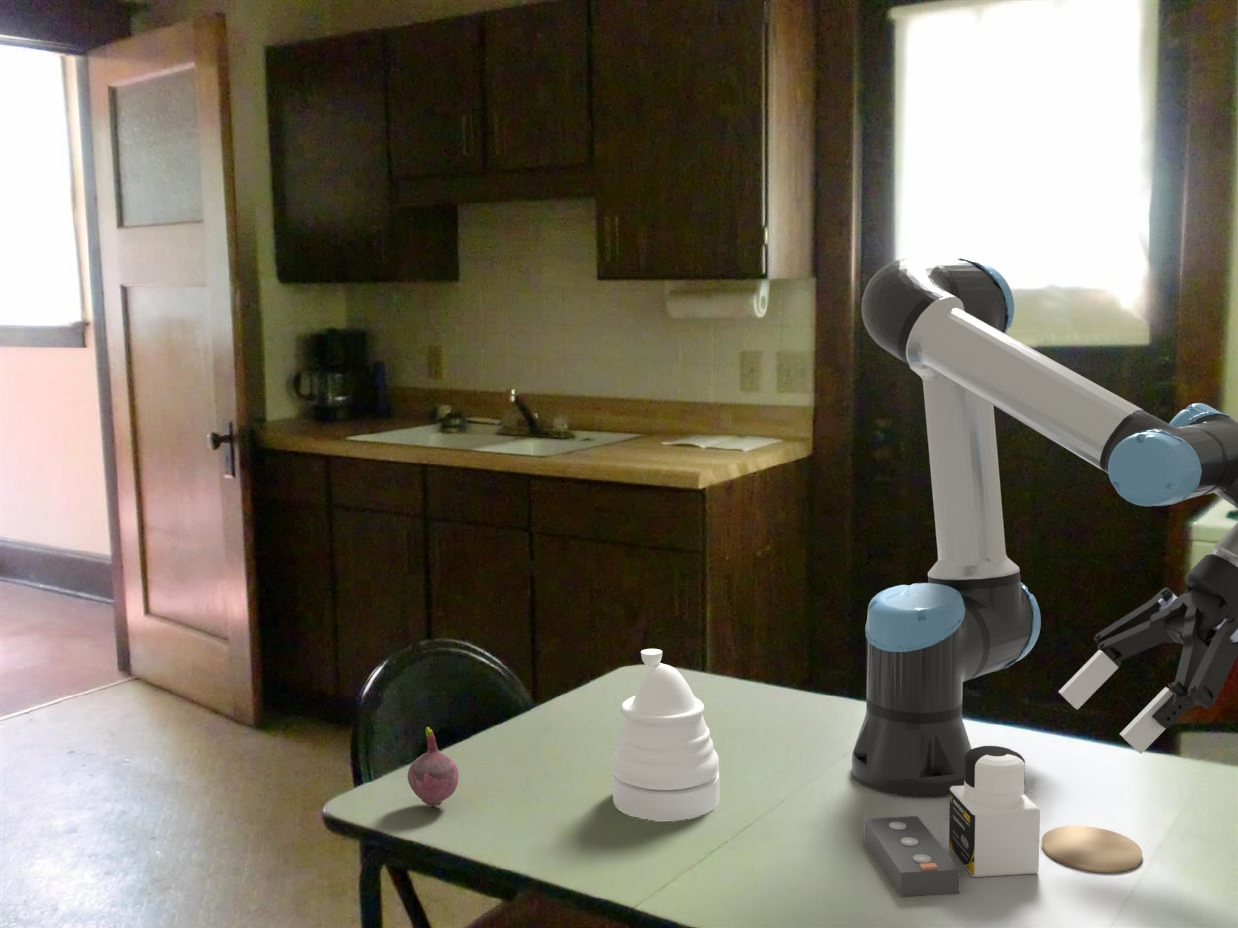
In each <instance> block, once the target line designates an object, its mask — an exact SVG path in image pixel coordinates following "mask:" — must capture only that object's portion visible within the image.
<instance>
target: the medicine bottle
mask: <svg viewBox="0 0 1238 928" xmlns="http://www.w3.org/2000/svg"><path fill="white" fill-rule="evenodd" d="M1025 771H1026V760H1025V758H1024V757H1023V756H1022V755H1021V754H1020V753H1019V752H1017V751H1015V750H1012V749H1010V748H1008V747H1004V746H998V745H982V746H977V747H974V748H972V749H971V750H969V751H968V752H967V753H966V754H965V767H964V786H952V787H950V796H949V814H948V816H949V818H948V820H949V821H948V822H949V823H948V824H949V825H948V848H949V849H950V851H951V852H952V853H953V854H954V856H955V857H956V858H957V859H958V860H959V862H960V863H961V864H962V865H963V867H964V868H965V870H967V871H968V873H969V874H970V875H971V876H972V877H973V878H983V877H999V876H1016V875H1017V876H1019V875H1020V876H1021V875H1033V874H1035V875H1036V874H1038V873H1039V869H1040V868H1039V867H1040V835H1041V834H1040V832H1041V831H1040V828H1041V827H1040V826H1041V809H1040V808H1039V806H1037V805H1036V804H1035V803H1034V802H1033V801H1031V799H1030V798H1029V797H1027V795H1025V784H1026V783H1025V782H1026V781H1025V777H1026V772H1025Z"/></svg>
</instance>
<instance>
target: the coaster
mask: <svg viewBox="0 0 1238 928" xmlns="http://www.w3.org/2000/svg"><path fill="white" fill-rule="evenodd" d="M1041 848H1042V850H1043V852H1044V853H1045V854H1046V855H1047V856H1048V857H1049V858H1051V859H1052V860H1055V861H1056V862H1058V863H1060V864H1063V865H1065V866H1068V867H1071V868H1075V869H1077V870H1078V869H1079V870H1084V871H1087V872H1094V873H1119V872H1125V871H1130V870H1132V869H1135V868H1137V867H1139V865H1140V864H1141V862H1142V860H1143V859H1142V858H1143V851H1142V848H1141V847H1140V845H1139V844H1138V843H1137V842H1135V840H1133V839H1131V838H1129V837H1128V836H1126V835H1123V834H1122V833H1118V832H1115V831H1112V830H1108V829H1105V828H1101V827H1096V826H1095V827H1093V826H1087V825H1082V826H1081V825H1070V826H1069V825H1068V826H1060V827H1056V828H1053V829H1050V830H1048V831H1046V832H1045V833H1044V834H1043V835H1042V837H1041Z"/></svg>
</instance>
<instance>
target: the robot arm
mask: <svg viewBox="0 0 1238 928" xmlns="http://www.w3.org/2000/svg"><path fill="white" fill-rule="evenodd" d="M860 307H861V308H860V309H861V318H862V320H863V325H864V327H865V329H866V331H867V333H868V335H869V336H870V337H871V338H872V339H873V341H874V342H875V343H876V344H877V345H879V346H880V347H881V348H882V349H884V350H885V351H887V352H888V353H890V354H891V355H893V357H895V358H896V359H899V360H900V361H903V362H904V363H906V364H907V365H908V366H909V369H911V371H913V372H914V373H916V375H917V376H919V377H920V378H921V380H922V385H923V388H922V389H923V397H924V408H925V412H924V413H925V421H926V431H927V432H926V434H927V443H928V454H929V456H928V457H929V468H930V477H931V478H930V479H931V481H930V482H931V490H932V491H931V492H932V500H933V501H932V502H933V513H934V524H935V525H934V526H935V536H936V537H935V538H936V547H937V561H936V562H935V563H934V564H933V566H932V567H931V568H930V569H929V571H928V572H927V580H928V582H917V583H912V584H910V585H907V584H900V585H895V586H892V587H888V588H886V589H884V590H881V591H880V592H878V593H876V595H875V596H873V597H872V598H871V599H870V602H869V603H868V607H867V618H866V619H867V620H866V624H865V627H864V628H865V629H864V632H865V637H866V641H865V646H866V647H865V648H866V651H865V653H866V655H865V656H866V657H865V658H866V659H865V660H866V662H865V663H866V667H865V668H866V670H865V671H866V675H865V677H866V679H865V680H866V682H865V684H866V686H865V688H866V690H865V692H866V699H865V700H866V702H865V703H866V707H865V710H866V711H865V714H864V715H865V716H864V718H863V721H862V724H861V726H860V727H861V728H860V730H859V733H858V736H857V738H856V742H855V744H854V748H853V750H852V755H851V773H852V775H853V777H854V778H855V779H856V781H858V782H859V783H860V784H862V785H864V786H866V787H868V788H870V789H873V790H875V791H878V792H881V793H885V794H889V795H894V796H900V797H906V798H907V797H908V798H919V799H920V798H923V799H926V798H927V799H928V798H929V799H930V798H931V799H932V798H944V797H950V787H952V786H964V767H965V754H966V753H967V752H968V751H969V750H971V749H973V748H972V745H971V743H970V740H969V736H968V733H967V730H966V726H965V725H964V721H963V689H964V687H963V685H964V684H963V683H964V682H967V681H970V680H973V679H975V678H978V677H981V676H984V675H986V674H989V673H992V672H993V673H994V672H999V671H1002V670H1004V669H1007V668H1009V667H1011V666H1012V665H1014V664H1015V663H1016V662H1018V661H1021V660H1022V659H1023V658H1025V657H1026V656H1027V655H1028V654H1029V653H1030V652H1031V651H1032V649H1033V648H1034V646H1035V644H1036V642H1037V640H1038V639H1039V636H1040V631H1041V611H1040V607H1039V605H1038V602H1037V599H1036V597H1035V596H1034V594H1032V593H1030V591H1029V588H1028V587H1027V586H1026V585H1025V584H1024V583H1022V582H1021V573H1020V571H1021V570H1020V567H1019V566H1018V564H1016V563H1015V562H1014V561H1013V560H1012V559H1010V558H1009V557H1008V555H1007V552H1006V541H1005V528H1004V518H1003V517H1004V516H1003V506H1002V505H1003V504H1002V493H1001V480H1000V469H999V456H998V455H999V454H998V444H997V443H998V442H997V435H996V434H997V433H996V421H995V411H994V410H995V409H994V407H996V408H998V409H999V410H1001V411H1002V412H1004V413H1006V414H1008V415H1009V416H1011V417H1012V418H1013V419H1016V420H1017V421H1019V422H1021V423H1023V424H1024V425H1025V426H1028V427H1030V429H1032V430H1034V431H1036V432H1038V433H1039V434H1041V435H1043V436H1044V437H1046V438H1047V439H1049V440H1051V441H1053V442H1054V443H1056V444H1058V445H1060V446H1061V447H1063V448H1065V449H1066V450H1068V451H1069V452H1071V453H1073V454H1075V455H1076V456H1077V457H1079V458H1081V459H1083V460H1084V461H1086V462H1088V463H1089V464H1091V465H1092V466H1095V467H1096V468H1097V469H1099V470H1100V471H1101V470H1102V471H1103V472H1105V473H1106V474H1108V477H1109V480H1110V483H1111V484H1112V486H1113V487H1114V489H1115V491H1116V492H1117V494H1118V495H1119V496H1120V497H1121V498H1123V499H1124V500H1125V501H1127V502H1129V503H1131V504H1132V505H1133V504H1134V505H1136V506H1140V507H1141V506H1142V507H1153V506H1154V507H1165V506H1168V505H1170V506H1171V505H1174V504H1177V503H1180V502H1183V501H1186V500H1188V499H1192V498H1196V497H1201V496H1202V497H1203V496H1206V495H1210V494H1213V493H1214V494H1215V495H1216V496H1219V497H1220V498H1222V499H1223V500H1224V501H1226V502H1228V503H1229V504H1231V506H1233V507H1235V508H1237V509H1238V421H1236V420H1235V419H1234V418H1233V417H1231V416H1230V415H1229V414H1227V413H1225V412H1221V411H1218V410H1217V409H1216V408H1213V407H1211V406H1210V405H1208V404H1206V403H1202V402H1197V403H1192V404H1190V405H1188V406H1187V407H1186V408H1184V409H1182V410H1181V411H1179V412H1178V413H1177V414H1176V415H1175V416H1174V417H1173V419H1172V420H1171V421H1169V423H1168V422H1166V421H1164V420H1163V419H1160V418H1159V417H1157V416H1155V415H1153V414H1150V413H1149V412H1147V411H1145V410H1144V409H1143V408H1141V407H1139V406H1137V405H1136V404H1133V402H1130V401H1128V400H1126V399H1124V398H1123V397H1122V396H1119V395H1117V394H1115V393H1113V392H1111V391H1109V390H1108V389H1106V388H1104V387H1102V386H1100V385H1099V384H1097V383H1095V382H1093V381H1092V380H1090V379H1088V378H1086V377H1084V376H1082V375H1081V374H1079V373H1077V372H1075V371H1074V370H1071V369H1070V368H1068V367H1067V366H1064V365H1062V364H1060V363H1059V362H1057V361H1055V360H1053V359H1051V358H1050V357H1048V356H1046V355H1044V354H1043V353H1041V352H1039V351H1038V350H1036V349H1033V348H1031V347H1030V346H1028V345H1026V344H1024V343H1022V342H1020V341H1019V340H1017V339H1016V338H1013V337H1011V336H1010V335H1008V334H1007V331H1008V329H1010V328H1011V326H1012V323H1013V321H1014V315H1015V299H1014V295H1013V292H1012V290H1011V287H1010V285H1009V284H1008V281H1007V280H1006V279H1005V277H1004V276H1003V275H1002V274H1001V273H1000V272H999V271H997V270H996V269H995V268H994V267H992V266H991V265H988V264H987V263H984V262H981V261H976V260H971V259H968V258H967V259H966V258H963V257H962V258H961V257H960V258H920V257H919V258H918V257H911V258H910V257H908V258H901V259H897V260H895V261H892V262H890V263H888V264H887V265H884V266H883V267H882V268H880V269H879V270H877V272H876V273H874V275H873V276H872V277H871V279H870V280H869V282H868V283H867V285H866V287H865V289H864V292H863V295H862V298H861V306H860ZM1185 583H1186V585H1187V590H1186V591H1185V592H1184V593H1182V594H1181V595H1180V596H1177V595H1175V593H1174V592H1173V591H1171V589H1169V587H1164V588H1162V589H1161V590H1160V591H1159V592H1158V593H1156V594H1155V595H1154V596H1153V597H1152V598H1151V599H1150V600H1148V601H1147V602H1145V603H1144V604H1142V605H1140V606H1139V607H1137V608H1136V609H1134V610H1132V611H1131V612H1129V613H1128V614H1126V615H1124V616H1123V617H1121V618H1120V619H1118V620H1117V621H1115V622H1113V623H1112V624H1109V625H1108V626H1107V627H1105V628H1104V629H1101V631H1099V632H1098V633H1096V634H1095V635H1094V637H1093V640H1094V641H1095V642H1096V644H1097V651H1096V652H1095V653H1094V654H1093V655H1092V656H1091V657H1090V658H1089V659H1088V660H1087V661H1086V662H1085V663H1084V664H1083V665H1082V667H1080V669H1079V670H1078V671H1077V672H1076V673H1075V674H1074V675H1073V676H1072V677H1071V678H1070V679H1069V680H1068V681H1066V683H1065V684H1064V685H1063V686H1062V687H1061V689H1059V690H1058V692H1057V693H1059V694H1060V695H1061V696H1062V697H1063V698H1064V699H1065V700H1066V702H1068V703H1069V704H1070V705H1071V706H1072V707H1073V708H1074V709H1075V710H1077V711H1078V710H1079V709H1081V706H1083V705H1084V704H1085V703H1086V702H1087V701H1088V700H1089V699H1090V698H1091V697H1092V696H1093V695H1094V693H1095V692H1096V691H1097V690H1098V689H1099V688H1101V686H1103V684H1104V683H1105V682H1106V681H1107V680H1108V679H1110V677H1111V676H1112V675H1113V674H1114V673H1115V672H1116V671H1117V670H1118V669H1119V668H1121V665H1122V664H1121V663H1122V662H1121V661H1123V660H1126V659H1128V658H1129V657H1132V656H1134V655H1137V654H1139V653H1142V652H1144V651H1147V650H1149V649H1151V648H1154V647H1156V646H1158V645H1160V644H1162V643H1168V644H1172V643H1177V644H1179V645H1183V646H1182V651H1181V655H1180V659H1179V662H1178V667H1177V671H1176V672H1177V673H1176V676H1175V678H1174V679H1175V680H1174V681H1173V682H1170V683H1167V686H1165V687H1164V688H1163V689H1161V691H1160V692H1159V693H1157V695H1156V696H1155V697H1154V698H1152V700H1151V701H1150V702H1149V703H1148V704H1147V705H1146V706H1145V707H1144V708H1143V709H1142V710H1141V711H1140V712H1139V713H1138V714H1137V716H1135V717H1134V718H1133V719H1132V720H1131V721H1130V723H1128V725H1126V727H1124V728H1123V730H1121V732H1120V733H1119V735H1120V736H1121V737H1122V738H1123V739H1124V740H1125V741H1126V742H1127V743H1128V744H1129V745H1130V746H1131V747H1132V748H1133V749H1134V750H1135V751H1137V753H1139V754H1140V755H1142V754H1143V753H1144V752H1145V751H1146V750H1147V748H1149V746H1150V747H1151V745H1152V744H1153V742H1155V740H1157V739H1158V738H1159V737H1160V735H1161V734H1163V732H1165V730H1167V729H1168V728H1170V727H1171V726H1172V725H1173V724H1174V723H1175V722H1176V721H1177V720H1178V719H1179V718H1180V717H1181V716H1182V715H1183V714H1184V713H1185V712H1186V711H1187V710H1188V709H1193V708H1196V707H1198V706H1202V707H1203V708H1204V709H1206V710H1209V709H1211V708H1213V707H1214V705H1215V703H1216V701H1217V699H1218V697H1219V696H1220V693H1221V691H1222V688H1223V686H1224V685H1225V682H1226V680H1227V678H1228V676H1229V674H1230V672H1231V670H1232V667H1233V665H1234V663H1235V661H1236V659H1237V658H1238V521H1237V523H1235V524H1234V525H1233V527H1231V529H1230V530H1228V532H1227V533H1225V534H1224V535H1223V537H1222V538H1221V539H1219V541H1217V543H1216V544H1215V545H1214V546H1212V553H1210V554H1205V555H1204V556H1203V557H1202V559H1200V561H1198V563H1196V564H1195V565H1194V567H1193V568H1191V570H1190V571H1188V573H1187V574H1186V575H1185ZM1168 687H1169V688H1168ZM1204 688H1205V689H1204ZM1172 691H1173V692H1172Z"/></svg>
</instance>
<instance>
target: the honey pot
mask: <svg viewBox="0 0 1238 928" xmlns="http://www.w3.org/2000/svg"><path fill="white" fill-rule="evenodd" d="M640 656H641V660H642V662H643V663H644V665H645V666H647V668H653V669H652V670H650V672H648V674H646V677H645V678H644V679H643V681H642V682H641V684H640V686H639V688H638V689H637V692H636V694H635V695H633V696H631V697H629V698H627V699H625V700H624V701H623V702H622V703H621V706H620V712H621V714H622V715H623V716H624V717H625V718H626V719H625V723H624V725H623V727H622V728H621V729H620V734H619V736H620V737H619V739H618V741H617V747H616V748H617V749H616V750H615V752H614V754H613V757H612V762H611V763H612V801H613V800H614V802H615V805H616V806H617V807H618V808H620V809H621V810H622V811H624V812H627V813H628V814H630V815H634V816H638V817H641V818H647V819H652V820H669V821H671V820H672V822H676V821H675V820H683V821H685V820H684V819H688V820H691V819H690V818H693V817H698V816H700V815H703V814H705V815H707V814H706V813H708V812H709V813H711V812H712V811H713V810H712V809H714V808H715V807H716V806H718V805H719V804H720V765H719V763H720V758H719V755H718V753H717V751H716V750H715V748H714V741H713V739H712V738H711V730H710V728H709V727H708V726H707V723H706V722H705V718H704V716H703V713H704V712H705V704H704V703H703V702H702V701H701V700H700V699H699V698H698V697H696V696H695V695H694V692H693V691H692V689H691V687H690V686H689V684H688V683H687V681H686V678H684V676H683V675H682V674H681V673H680V672H679V671H678V670H677V669H676V668H675V667H673V666H671V665H670V664H665V663H662V662H661V660H662V657H663V650H661V649H658V648H646V649H642V650H641V651H640ZM614 802H613V803H614ZM718 803H719V804H718ZM615 805H614V806H615ZM716 808H717V807H716ZM716 808H715V809H716ZM715 809H714V810H715ZM711 810H712V811H711ZM710 811H711V812H710ZM709 813H708V814H709ZM703 816H704V815H703ZM700 817H701V816H700ZM698 818H699V817H698ZM693 819H694V818H693Z"/></svg>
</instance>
